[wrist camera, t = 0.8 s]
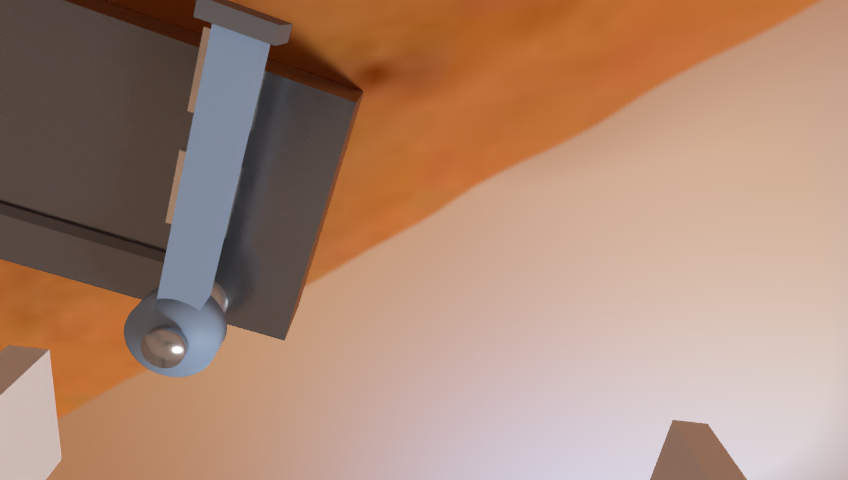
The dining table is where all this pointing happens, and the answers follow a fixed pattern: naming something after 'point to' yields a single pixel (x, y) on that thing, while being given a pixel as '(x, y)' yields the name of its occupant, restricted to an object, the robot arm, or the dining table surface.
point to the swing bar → (208, 184)
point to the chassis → (154, 161)
